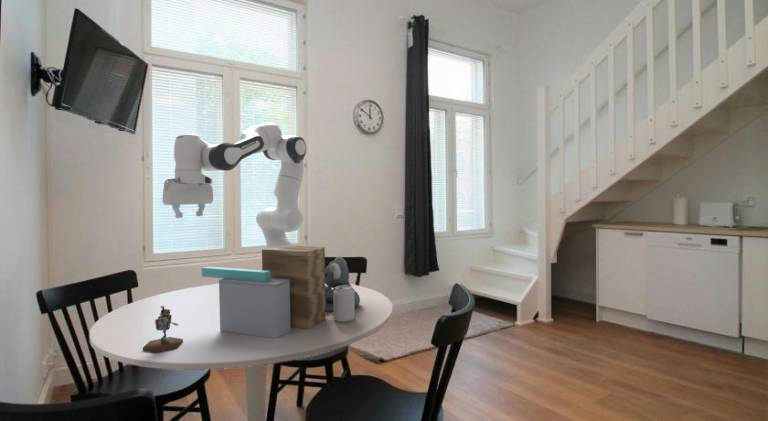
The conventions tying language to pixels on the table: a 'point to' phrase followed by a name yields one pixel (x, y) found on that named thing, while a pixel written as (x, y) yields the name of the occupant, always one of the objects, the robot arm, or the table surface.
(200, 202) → the robot arm
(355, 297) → the koala plush
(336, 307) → the can
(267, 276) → the teal bar
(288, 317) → the low stand
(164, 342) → the robot figurine
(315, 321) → the tall wooden block
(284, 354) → the table surface
